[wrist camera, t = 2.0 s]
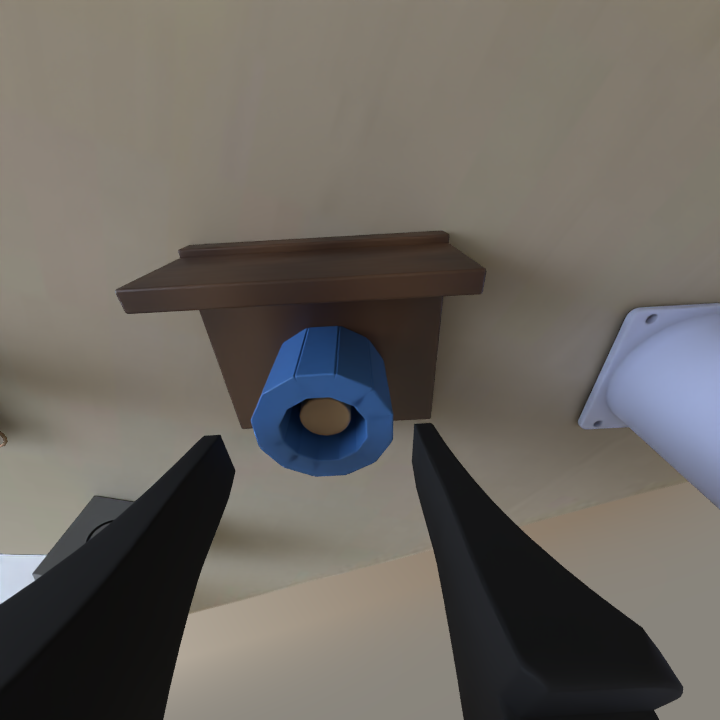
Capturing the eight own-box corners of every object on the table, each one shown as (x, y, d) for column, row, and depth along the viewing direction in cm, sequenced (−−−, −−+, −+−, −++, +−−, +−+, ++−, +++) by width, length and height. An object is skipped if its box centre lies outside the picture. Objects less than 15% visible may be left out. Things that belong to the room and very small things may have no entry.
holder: (443, 230, 13) (490, 258, 8) (427, 407, 18) (450, 479, 14) (187, 244, 13) (106, 279, 9) (246, 417, 18) (214, 492, 14)
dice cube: (94, 495, 22) (31, 573, 17) (167, 507, 23) (125, 584, 18) (100, 531, 24) (47, 607, 20) (166, 540, 25) (129, 614, 21)
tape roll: (383, 322, 14) (394, 370, 10) (384, 412, 17) (392, 472, 13) (263, 329, 14) (235, 379, 10) (285, 418, 17) (269, 479, 13)
